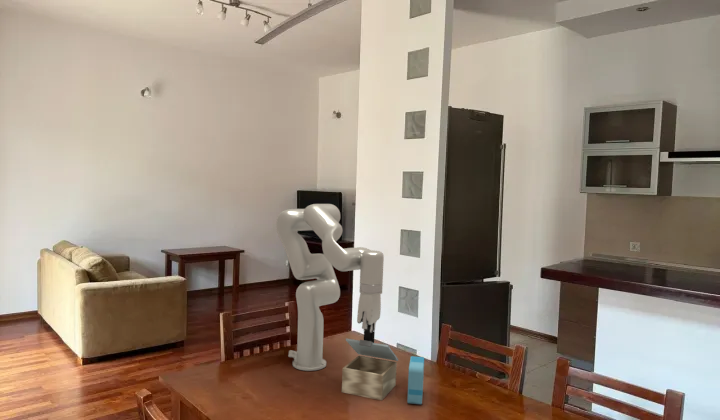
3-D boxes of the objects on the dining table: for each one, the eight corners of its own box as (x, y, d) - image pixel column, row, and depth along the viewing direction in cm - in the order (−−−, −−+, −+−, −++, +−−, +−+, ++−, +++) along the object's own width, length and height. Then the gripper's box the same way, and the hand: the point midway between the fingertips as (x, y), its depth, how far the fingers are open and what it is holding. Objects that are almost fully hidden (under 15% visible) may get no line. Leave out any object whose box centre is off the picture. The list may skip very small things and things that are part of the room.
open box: (341, 392, 167) (342, 368, 166) (358, 377, 179) (358, 355, 179) (381, 400, 161) (382, 375, 161) (395, 384, 174) (396, 362, 174)
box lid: (343, 341, 167) (345, 337, 168) (357, 357, 179) (358, 352, 180) (386, 348, 161) (387, 343, 162) (397, 364, 173) (398, 359, 174)
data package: (421, 406, 158) (423, 368, 157) (407, 404, 159) (408, 367, 158) (422, 391, 170) (424, 355, 169) (409, 389, 171) (410, 354, 170)
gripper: (368, 283, 175) (366, 335, 176) (351, 291, 161) (349, 347, 162) (389, 285, 172) (386, 338, 173) (373, 293, 159) (371, 351, 160)
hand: (368, 343), depth 168 cm, fingers closed
